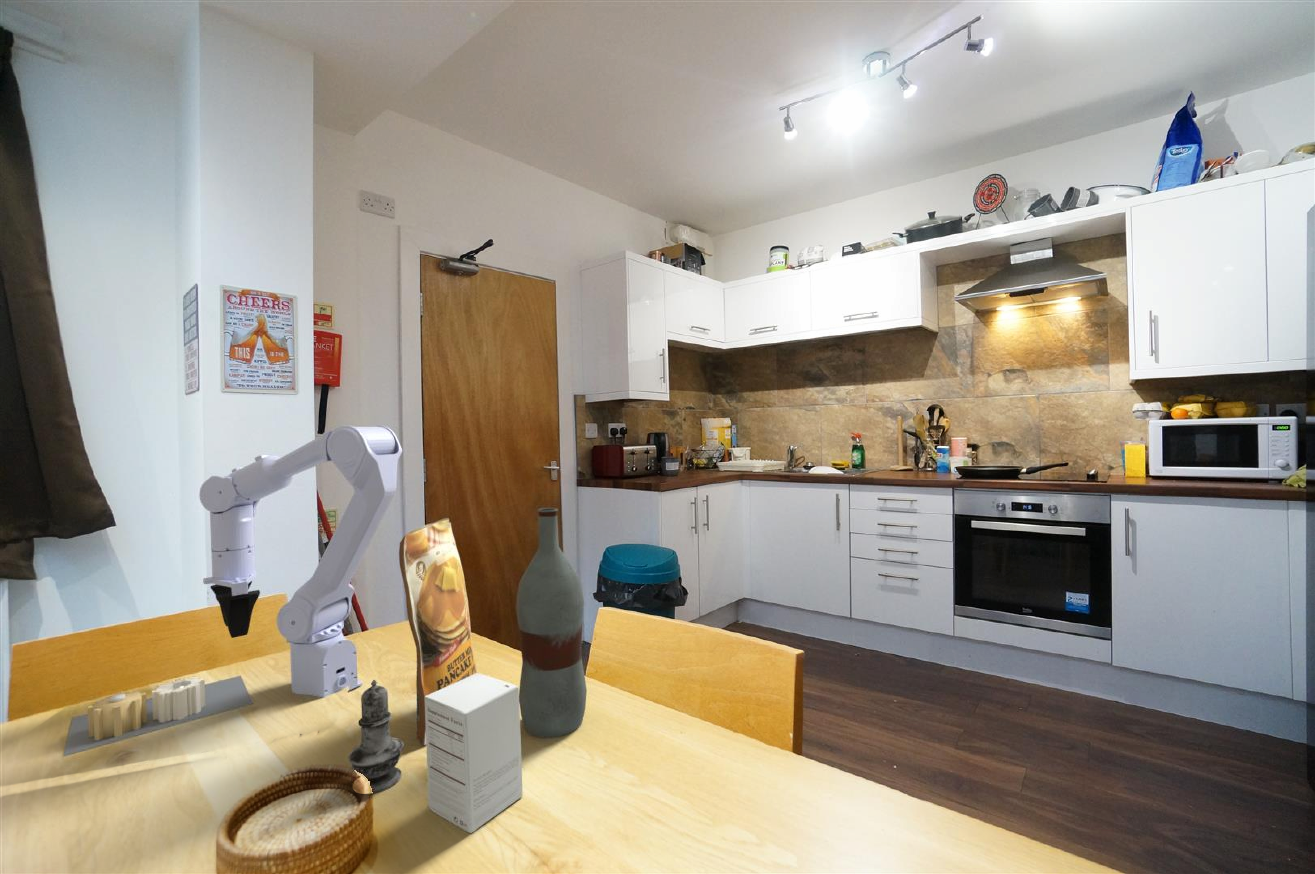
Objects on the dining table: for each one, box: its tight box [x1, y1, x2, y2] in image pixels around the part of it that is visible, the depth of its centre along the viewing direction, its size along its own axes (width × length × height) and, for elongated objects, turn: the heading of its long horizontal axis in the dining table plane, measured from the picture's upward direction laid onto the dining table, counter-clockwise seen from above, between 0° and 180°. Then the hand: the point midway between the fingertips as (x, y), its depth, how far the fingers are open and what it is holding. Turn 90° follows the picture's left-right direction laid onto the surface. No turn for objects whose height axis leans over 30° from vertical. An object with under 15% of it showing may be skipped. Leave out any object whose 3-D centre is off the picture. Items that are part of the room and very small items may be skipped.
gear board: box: [62, 675, 254, 757], centre depth 85 cm, size 20×14×6 cm
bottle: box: [515, 507, 588, 739], centre depth 81 cm, size 9×9×30 cm
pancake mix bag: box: [398, 517, 478, 747], centre depth 83 cm, size 7×19×28 cm, turn 174°
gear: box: [151, 676, 205, 722], centre depth 85 cm, size 6×6×4 cm
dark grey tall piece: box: [348, 679, 404, 795], centre depth 68 cm, size 6×6×12 cm
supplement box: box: [424, 672, 524, 834], centre depth 63 cm, size 7×7×13 cm
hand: (236, 630), depth 95 cm, fingers open, 7 cm apart
